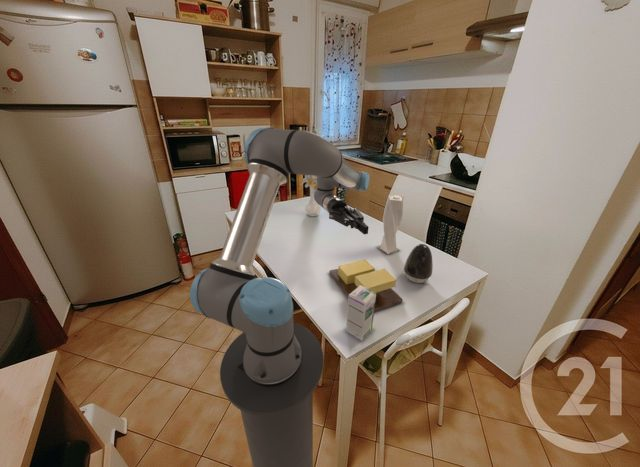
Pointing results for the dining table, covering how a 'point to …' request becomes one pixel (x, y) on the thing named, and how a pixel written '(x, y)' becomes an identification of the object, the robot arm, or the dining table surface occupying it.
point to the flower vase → (311, 195)
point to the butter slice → (376, 280)
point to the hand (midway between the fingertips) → (366, 230)
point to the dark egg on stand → (419, 264)
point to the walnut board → (382, 297)
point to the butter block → (354, 270)
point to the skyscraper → (391, 223)
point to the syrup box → (360, 312)
